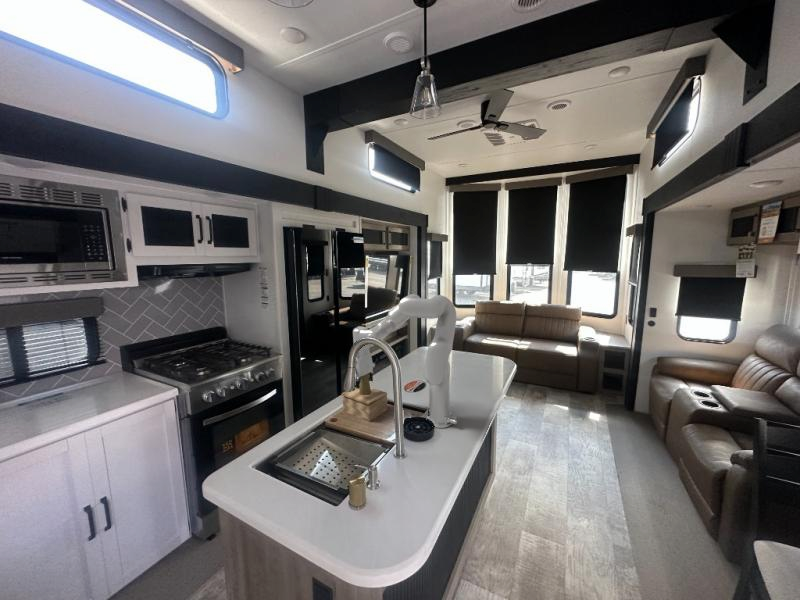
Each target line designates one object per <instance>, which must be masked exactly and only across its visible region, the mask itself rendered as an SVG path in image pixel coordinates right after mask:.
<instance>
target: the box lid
mask: <svg viewBox="0 0 800 600" xmlns="http://www.w3.org/2000/svg"><path fill="white" fill-rule="evenodd" d="M354 388H355V387H354ZM370 389H371V394H369V395H360V394H359V391H360V388H359V389H358V388H355V390H354V391H351V392H346V391H343V392H342V393H341V396H342V397H343V396H345V397H348V398H351V399H354V400H356V401H359V402H362V403H365V404H368V405H369V404H371V403H372V402H374V401H376V400H378V399H380V398H382V397H384V396H386V395H387V396H388V392H386V391H382V390H381V389H380V390H379V389H377V388H373V387H370Z"/></svg>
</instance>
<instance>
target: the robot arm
mask: <svg viewBox="0 0 800 600" xmlns="http://www.w3.org/2000/svg"><path fill="white" fill-rule="evenodd" d="M411 318H416V319H417V318H418V319H428V320H429V319H431V320H436V319H437V321H436V325H435V331H434V336H433V339H432V340H431V342H430V343H429V345H428V347H427V350H426V357H425V362H424V366H423V367H424V368H423V377H424V380H425V381H426V383H427V384H428V394H429V395H428V401H429V414H430V416H428V415H427V416H426V418H427V417H428V418H429V419H431V420H432V421H433V423H434V425H435V427H434V428H436V429H437V428H438V429H445V428H448V427H450V426H451V425H453V424H454V425H457V424H458V417H457V416H454V415H453V413H452V411H451V409H450V408H451V407H450V405H451V403H450V397H451V396H450V395H451V394H450V375H451V363H450V362H449V358H450V354H451V353H452V351H453V345H454V344H453V343H454V339H455V332H456V326H457V310H456V308H455V305H454V303H453V302H452V301H451V300H450V299H449V297H446V296H445V295H442V294H437V295H433V296H432V297H431V298H421V297H420V295H418V294H415V293H412V294H410V293H409V294H408V295H406V296H404V297H403V298H401V299H400V301H399V303H398V304H397V305H395V306H394V307H393V308H392V309H391V310H389V311H388V312H387V315H386V317H385V318H384V319H382V320H381V321H380V322H379V323H378V324H376V325H375V326H373V327H372V328H370V329H368V328H367V327H365V326H358V327H355V328H353V330H352V338H353V339H352V340H353V341H352V342H353V344H354V343H355V342H356V341H358V340H359V339H361V338H364V337H373V338H378V339H381V341H383V340H384V339H386V337H388V336H389V335H390V334H391V333H392V332H394V331H395V330H396V329H397V328H400V327H401V326H402V325H403V324H404V323H405V322H407V321H408V320H409V319H411ZM370 346H374V345H373V344H368V345H365V346H363V347H362V348H361V349H360V350H359V351H358V353H357V357H356V385H355V387H354V388H358V389H359V388H360V379H361V378H360V377H362V376H364V375H366V374H368V373H370V377H369V382H373V381H374V375H373V374H374V371H375V366H376V363H374V362H373V358H372V354H371V352H370Z"/></svg>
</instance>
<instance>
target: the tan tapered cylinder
mask: <svg viewBox="0 0 800 600" xmlns="http://www.w3.org/2000/svg"><path fill="white" fill-rule="evenodd" d="M369 377H370V373H368V374H366V375H364V376H362V377H360V378H359V379H360V381H359V383H360V391H359V394H360V395H369V394H371V389H370V388H371V383H370V381H369Z"/></svg>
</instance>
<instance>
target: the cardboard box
mask: <svg viewBox="0 0 800 600" xmlns="http://www.w3.org/2000/svg"><path fill="white" fill-rule="evenodd" d="M342 408H343V409H342V412H343V413H344V412H345V413H347V414H349V415H351V416H353V417H356V418H359V419H362V420H363V421H367V422H371V421H373V420H374V419H376V418H378V416H380V415H382V414H383V413H384V412H385V411H387V410H388V409H389V408H388V394H387V395H386V396H384V397H382V398H380V399H378V400H376V401H374V402H372V403H371V404H369V405H368V404H365V403H362V402H359V401H356V400H354V399H351V398H348V397H345V396H343V395H342Z"/></svg>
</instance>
